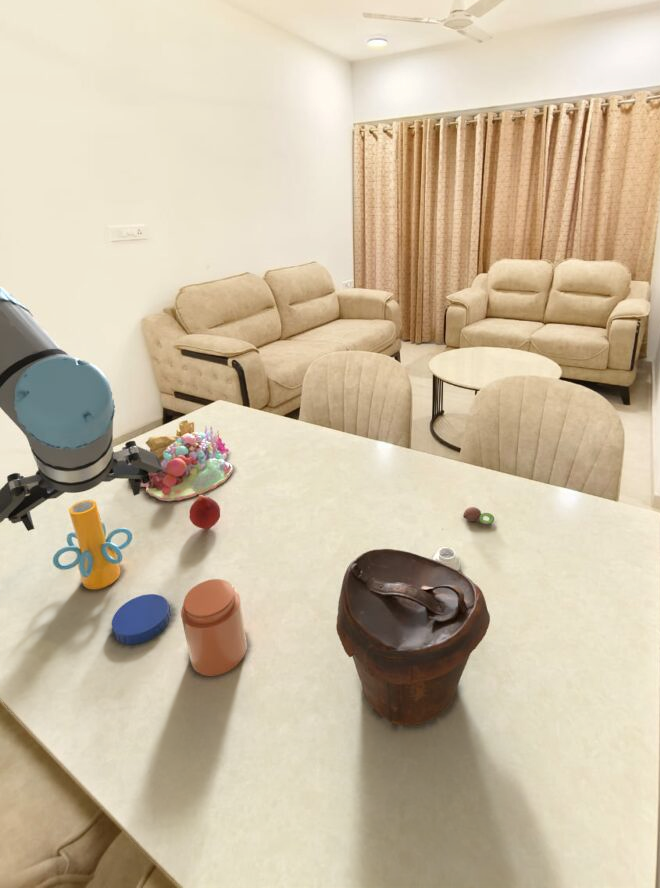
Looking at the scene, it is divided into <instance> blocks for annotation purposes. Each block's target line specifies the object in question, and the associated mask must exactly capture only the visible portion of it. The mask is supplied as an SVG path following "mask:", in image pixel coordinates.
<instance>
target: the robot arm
mask: <svg viewBox="0 0 660 888" xmlns="http://www.w3.org/2000/svg"><path fill="white" fill-rule="evenodd" d="M0 409H1V410H2V411H3V413H4V414H6V415H7V417H8V418H9V419H10V420H11V421H12V422H13V423H14V425H16V426H17V427H18V429H19V430H20V431H21V432H22V433H23V434H24V436H25V437H26V439H27V442H28V444H29V447H30V451H31V453H32V456H33V459H34V461H35V463H36V466H37V469H38V470H36V472H35V474H34V475H30V476H26V475H23V474H22V475H21V473H19V472H14V473H11V474H9V475H7V476H6V479H7V482H6V483H5V484H4V485H3V486H2V487H1V488H0V524H1V523H2V522H3V521H4V520H5V519H8V522H9V521H10V523H11V524H17V523H21V522H22V524H23V525H24V527H25V529H26V530H27V531H28V532H29V531H32V530H34V529H35V526H34V522H33V518H32V515H31V511H33V510H34V509H35V508H36V507H37V508H38V506H40V505H41V504H44V502H46V501H47V500H52V499H57V498H59V497H61V496H62V495H64V494H65V493H67V494H77V493H83V492H88V491H89V490H92V489H94V488H96V487H97V486H99V485H100V484H101V483H102V482H105V483H108V482H109V483H110V482H112V481H114V480H115V479H119V480H121V479H122V480H123V479H125V480H128V482H129V485H130V487H131V491H132V495H133V496H134V497H135V496H138V495H140V493H141V486H140V485H141V482H143V484H146V483H149V482H150V481H151V479H150V476H149V473H151V472H152V473H160V472H162V471H163V469H162V466H161V463H160V461H159V458H158V455H157V454H154V453H152V452H150V450H148V449H145V448H142V447H141V446H138V445H137V443H136V440H129V441H126V443H124V446H123V447H122V448H121V450H118V451H114V435H113V434H114V416H115V412H116V410H115V409H116V405H115V399H114V398H113V391H112V388H111V384H110V382H109V380H108V378H107V377H106V375H105V374H104V371H102V370H101V369H100V368H99V367H97V366H96V365H95V364H93V363H90V362H89V361H86V360H83V359H81V358H78V357H75V356H70V355H69V354H68V353H67V352H66V351H64V350H63V349H62V348H61V346H59V345H58V343H57V342H56V341H55V340H54V339H53V338H52V337H51V335H50V334H49V333H48V332H47V331H46V330H45V329H44V328H43V326H42V325H41V324H40V323H39V322H38V321H37V320H36V318H34V315H33V314H32V313H31V312H30V310H29V309H28V308H27V307H26V306H24V304H22V303H21V302H20V301H19V300H18V299H17V298H15V296H13V295H12V294H11V293H9V292H8V291H7V290H6V289H5V288H4V287H2V286H1V285H0Z"/></svg>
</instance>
